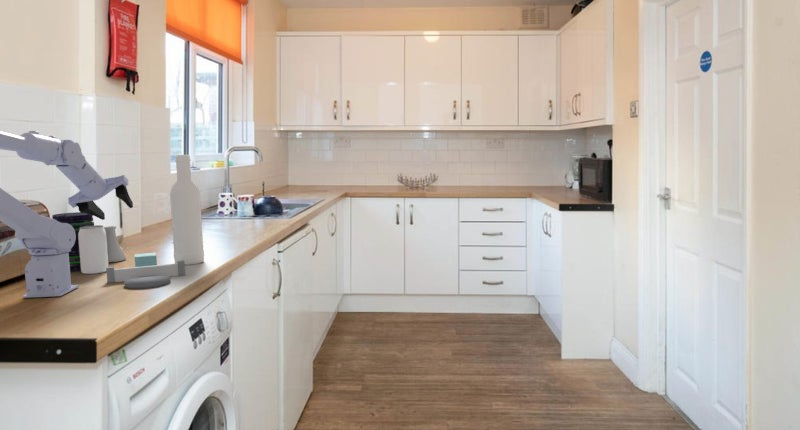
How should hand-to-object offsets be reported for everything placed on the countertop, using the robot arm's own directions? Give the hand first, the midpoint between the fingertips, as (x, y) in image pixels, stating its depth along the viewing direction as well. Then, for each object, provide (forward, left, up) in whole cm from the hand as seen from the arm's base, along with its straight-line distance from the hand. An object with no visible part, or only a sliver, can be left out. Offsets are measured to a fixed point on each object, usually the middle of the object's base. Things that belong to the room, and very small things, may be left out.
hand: (117, 210), depth 156 cm
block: (-3, -7, -16) cm, 18 cm away
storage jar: (+8, +15, -16) cm, 23 cm away
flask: (+19, +9, -16) cm, 27 cm away
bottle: (+11, -14, -16) cm, 24 cm away
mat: (-17, -12, -16) cm, 26 cm away
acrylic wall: (-10, -9, -16) cm, 21 cm away
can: (+2, +8, -16) cm, 18 cm away
